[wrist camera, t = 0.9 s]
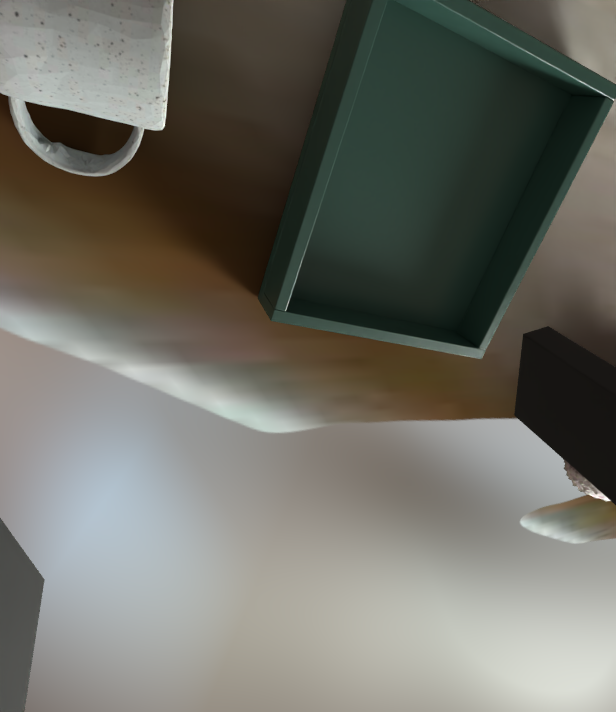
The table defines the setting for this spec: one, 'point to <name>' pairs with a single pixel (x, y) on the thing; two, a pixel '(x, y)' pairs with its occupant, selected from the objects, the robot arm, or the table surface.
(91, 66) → the ceramic mug
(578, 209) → the table surface
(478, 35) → the tray
